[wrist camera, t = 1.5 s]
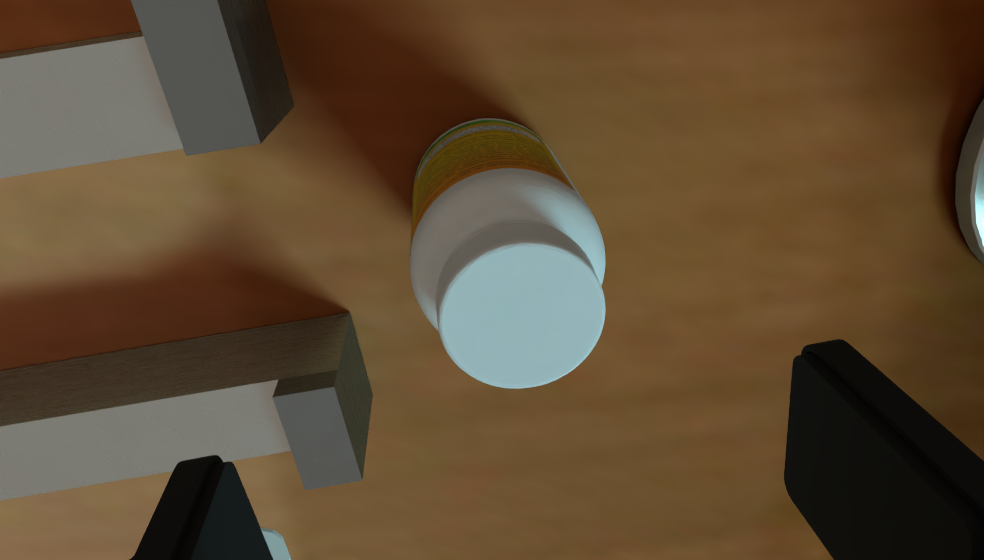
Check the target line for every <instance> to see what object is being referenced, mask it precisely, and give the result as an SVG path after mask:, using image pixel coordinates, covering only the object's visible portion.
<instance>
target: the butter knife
mask: <svg viewBox="0 0 984 560" xmlns="http://www.w3.org/2000/svg"><path fill="white" fill-rule="evenodd" d="M260 528H261V527H260ZM261 531H262V533H263V535H264V538H265V540H266V543H267V545H268V548H269V550H270V552H271V555H272V557H273V560H291V557H290V555H289V552H288V549H287V547H286V545H285V542H284V540H283V537H282V536H281V535H280V534H279V533H277V532H276V531H274V530H272V529H267V528H261Z"/></svg>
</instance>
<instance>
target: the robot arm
mask: <svg viewBox="0 0 984 560" xmlns="http://www.w3.org/2000/svg"><path fill="white" fill-rule="evenodd" d="M955 205H956V210H957V215H958V221H959V226H960V229H961V231H962V234H963V236H964V238H965V240H966V242H967V244H968V246H969V248H970V250H971V251H972V252H973V253H974V255H975V256H976V257H977V258H978V259H979V260H980V261H981V263H982V264H983V265H984V99H983V100H982V102H981V104H980V105H979V107H978V109H977V110H976V113H975V115H974V118H973V120H972V123H971V125H970V128H969V130H968V133H967V135H966V137H965V140H964V142H963V146H962V150H961V155H960V159H959V164H958V168H957V173H956V192H955ZM784 481H785V486H786V489H787V492H788V494H789V496H790V498H791V499H792V501H793V502H794V504H795V505H796V507H797V508H798V509H799V511H800V512H801V514H802V515H803V516H804V518H805V519H806V521H807V522H808V524H809V525H810V526H811V528H812V529H813V531H814V532H815V533H816V535H817V536H818V538H819V539H820V540H821V542H822V543H823V545H824V546H825V547H826V549H827V550H828V552H829V553H830V555H831V556H832V557H833V559H834V560H984V461H983V460H982V459H980V458H979V457H978V456H977V455H976V454H975V453H974V452H972V451H971V450H970V449H969V448H968V447H967V446H966V445H964V444H963V443H962V442H961V441H960V440H959V439H957V438H956V437H955V436H954V435H953V434H952V433H951V432H949V431H948V430H947V429H946V428H945V427H944V426H943V425H941V424H940V423H939V422H938V421H937V420H936V419H935V418H933V417H932V416H931V415H930V414H929V413H928V412H927V411H925V410H924V409H923V408H922V407H921V406H920V405H918V404H917V403H916V402H915V401H914V400H913V399H912V398H910V397H909V396H908V395H907V394H906V393H905V392H904V391H902V390H901V389H900V388H899V387H898V386H897V385H896V384H894V383H893V382H892V381H891V380H890V379H889V378H888V377H886V376H885V375H884V374H883V373H882V372H881V371H880V370H878V369H877V368H876V367H875V366H874V365H873V364H871V363H870V362H869V361H868V360H867V359H866V358H865V357H863V356H862V355H861V354H860V353H859V352H858V351H857V350H855V349H854V348H853V347H852V346H851V345H850V344H849V343H847V342H846V341H844V340H840V339H837V340H832V341H826V342H821V343H816V344H810V345H807V346H805V347H804V348H803V350H802V353H801V355H799V356H796V357H795V358H794V360H793V367H792V380H791V393H790V406H789V419H788V432H787V445H786V458H785V471H784ZM130 560H273V557H272V555H271V552H270V550H269V548H268V545H267V543H266V540H265V538H264V535H263V533H262V531H261V528H260V526H259V523H258V521H257V519H256V516H255V514H254V511H253V509H252V506H251V504H250V502H249V499H248V497H247V494H246V492H245V489H244V487H243V485H242V482H241V480H240V477H239V475H238V472H237V470H236V468H235V466H234V464H233V463H232V462H229V461H228V462H223V461H222V459H221V458H220V457H219V456H218V455H211V456H206V457H200V458H195V459H189V460H184V461H181V462H179V463H178V464H177V465H176V467H175V468H174V471H173V473H172V475H171V477H170V479H169V481H168V484H167V486H166V488H165V490H164V492H163V494H162V497H161V499H160V501H159V503H158V505H157V507H156V510H155V512H154V514H153V516H152V518H151V520H150V523H149V525H148V527H147V529H146V531H145V533H144V536H143V538H142V540H141V542H140V544H139V547H138V549H137V551H136V553H135V555H134V556H133V557H132V558H131V559H130Z"/></svg>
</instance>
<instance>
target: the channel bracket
mask: <svg viewBox="0 0 984 560" xmlns="http://www.w3.org/2000/svg"><path fill="white" fill-rule="evenodd" d="M131 2H132V5H133V8H134V11H135V14H136V17H137V19H138V22H139V25H140V28H141V31H139V32H132V33H126V34H120V35H113V36H107V37H101V38H94V39H88V40H82V41H75V42H69V43H63V44H56V45H50V46H44V47H38V48H31V49H25V50H19V51H12V52H6V53H0V178H5V177H11V176H17V175H23V174H30V173H36V172H42V171H48V170H54V169H61V168H67V167H73V166H79V165H85V164H91V163H98V162H104V161H110V160H116V159H122V158H128V157H135V156H141V155H147V154H153V153H159V152H165V151H172V150H178V149H184V151H185V154H186V156H188V155H194V154H200V153H206V152H213V151H219V150H225V149H231V148H237V147H243V146H250V145H256V144H261V143H262V142H263V140H264V139H265V138H266V137H267V136H268V135H269V134H270V133H271V131H272V130H273V129H274V128H275V127H276V126H277V125H278V124H279V123H280V121H281V120H282V119H283V118H284V117H285V116H286V115H287V114H288V112H289V111H290V110H291V109H292V108H293V107H294V105H293V101H292V97H291V94H290V90H289V86H288V83H287V79H286V75H285V72H284V68H283V64H282V61H281V57H280V53H279V50H278V46H277V42H276V38H275V35H274V31H273V27H272V24H271V20H270V16H269V13H268V9H267V5H266V2H265V0H131ZM372 397H373V395H372V391H371V387H370V384H369V380H368V376H367V373H366V369H365V365H364V362H363V358H362V354H361V351H360V347H359V343H358V340H357V336H356V332H355V329H354V325H353V321H352V318H351V314H350V312H349V313H343V314H337V315H331V316H325V317H319V318H313V319H307V320H301V321H295V322H289V323H283V324H277V325H271V326H265V327H259V328H253V329H247V330H241V331H235V332H229V333H223V334H217V335H212V336H206V337H200V338H194V339H188V340H182V341H176V342H170V343H164V344H158V345H152V346H146V347H140V348H134V349H128V350H122V351H116V352H110V353H104V354H98V355H92V356H86V357H80V358H74V359H68V360H62V361H56V362H50V363H44V364H38V365H32V366H26V367H20V368H14V369H8V370H2V371H0V500H6V499H12V498H18V497H24V496H29V495H35V494H41V493H47V492H53V491H59V490H64V489H70V488H76V487H82V486H88V485H94V484H100V483H105V482H111V481H117V480H123V479H129V478H135V477H141V476H146V475H152V474H158V473H164V472H170V471H174V468H175V467H176V465H177V464H178V463H179V462H181V461H184V460H189V459H195V458H200V457H206V456H211V455H218V456H219V457H220V458H221V459H222V461H223V462H228V461H234V460H240V459H246V458H252V457H258V456H263V455H269V454H275V453H281V452H287V451H292V454H293V457H294V460H295V463H296V465H297V468H298V471H299V474H300V477H301V479H302V482H303V485H304V488H305V490H309V489H315V488H321V487H326V486H332V485H338V484H344V483H350V482H355V481H361V480H362V478H363V470H364V462H365V454H366V446H367V437H368V429H369V421H370V413H371V405H372Z"/></svg>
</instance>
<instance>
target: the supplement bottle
mask: <svg viewBox="0 0 984 560" xmlns="http://www.w3.org/2000/svg"><path fill="white" fill-rule="evenodd" d="M412 203H413V207H412V231H411V247H410V273H411V281H412V287H413V291H414V294H415V296H416V299H417V301H418V303H419V306H420V307H421V309H422V311H423V313H424V314H425V316H426V317H427V319H428V320H429V321H430V322H431V324H432V325H433V326H434V327H435V328H436V329H437V330H438V331H439V334H440V338H441V340H442V343H443V346H444V348H445V350H446V351H447V353H448V354H449V356H450V357H451V359H452V360H453V361H454V363H455V364H456V365H457V366H458V367H459V368H461V369H462V370H463V371H464V372H466V373H467V374H469V375H470V376H472V377H473V378H475V379H477V380H479V381H482V382H484V383H486V384H489V385H493V386H497V387H503V388H528V387H535V386H539V385H543V384H547V383H549V382H552V381H554V380H557V379H558V378H560V377H562V376H564V375H566V374H567V373H569V372H571V371H572V370H573V369H574V368H576V367H577V366H578V365H579V364H580V363H581V362H582V361H583V360H584V359H585V358H586V357H587V356H588V355H589V353H590V352H591V351H592V349H593V348H594V346H595V344H596V343H597V341H598V339H599V337H600V334H601V332H602V328H603V325H604V319H605V298H604V294H603V290H602V287H601V286H602V283H603V278H604V273H605V248H604V243H603V239H602V235H601V232H600V230H599V227H598V224H597V222H596V220H595V218H594V216H593V214H592V213H591V211H590V209H589V208H588V206H587V205H586V203H585V202H584V200H583V199H582V197H581V196H580V194H579V193H578V191H577V189H576V188H575V186H574V185H573V183H572V182H571V180H570V179H569V177H568V175H567V174H566V172H565V171H564V169H563V167H562V166H561V164H560V163H559V161H558V160H557V158H556V157H555V155H554V154H553V152H552V151H551V150H550V148H549V147H548V146H547V144H546V143H545V142H544V141H543V140H542V139H541V138H540V137H539V136H538V135H536V134H535V133H533V132H532V131H531V130H529V129H527V128H526V127H524V126H522V125H519V124H517V123H514V122H511V121H507V120H503V119H496V118H483V119H476V120H471V121H468V122H465V123H462V124H459V125H457V126H455V127H453V128H451V129H450V130H448V131H446V132H445V133H443V134H442V135H441V136H440V137H439V138H437V139H436V140H435V141H434V142H433V144H432V145H431V146H430V147H429V148H428V150H427V151H426V153H425V154H424V156H423V158H422V160H421V162H420V164H419V166H418V169H417V172H416V175H415V180H414V186H413V200H412Z"/></svg>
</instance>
